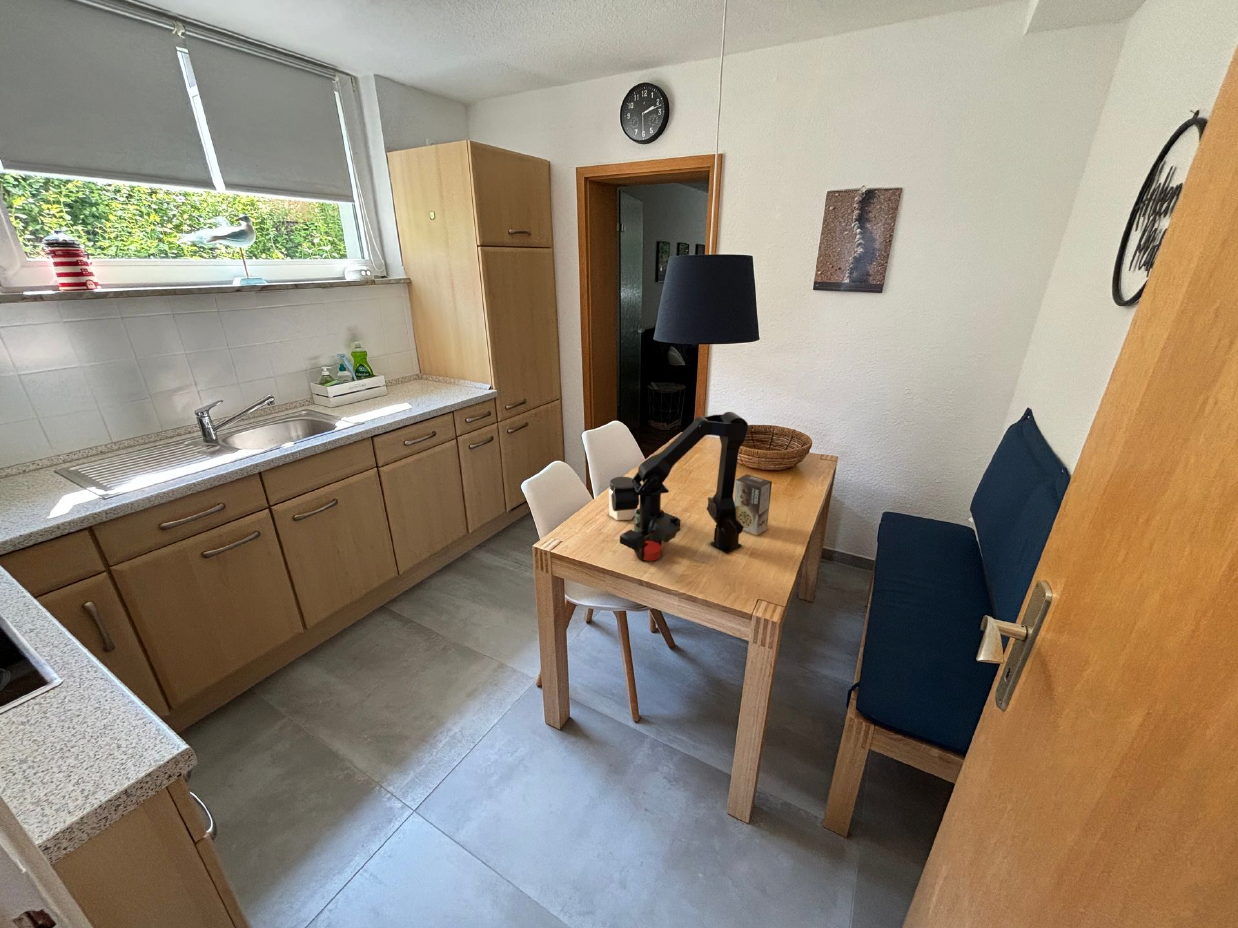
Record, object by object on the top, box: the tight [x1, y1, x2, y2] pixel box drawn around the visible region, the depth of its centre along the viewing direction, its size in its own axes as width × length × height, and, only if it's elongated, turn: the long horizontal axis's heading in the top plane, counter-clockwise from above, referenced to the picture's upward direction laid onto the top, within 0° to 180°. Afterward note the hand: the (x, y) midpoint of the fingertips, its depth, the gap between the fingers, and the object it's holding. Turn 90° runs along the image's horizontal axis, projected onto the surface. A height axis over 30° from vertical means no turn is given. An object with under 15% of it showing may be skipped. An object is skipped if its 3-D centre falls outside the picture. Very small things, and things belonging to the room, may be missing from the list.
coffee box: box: [733, 473, 773, 536], centre depth 152 cm, size 9×6×16 cm
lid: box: [643, 541, 662, 562], centre depth 140 cm, size 7×7×2 cm
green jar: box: [633, 513, 653, 541], centre depth 147 cm, size 6×6×9 cm
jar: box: [608, 476, 637, 521], centre depth 162 cm, size 9×8×12 cm
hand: (648, 556), depth 141 cm, fingers closed on lid, 6 cm apart
